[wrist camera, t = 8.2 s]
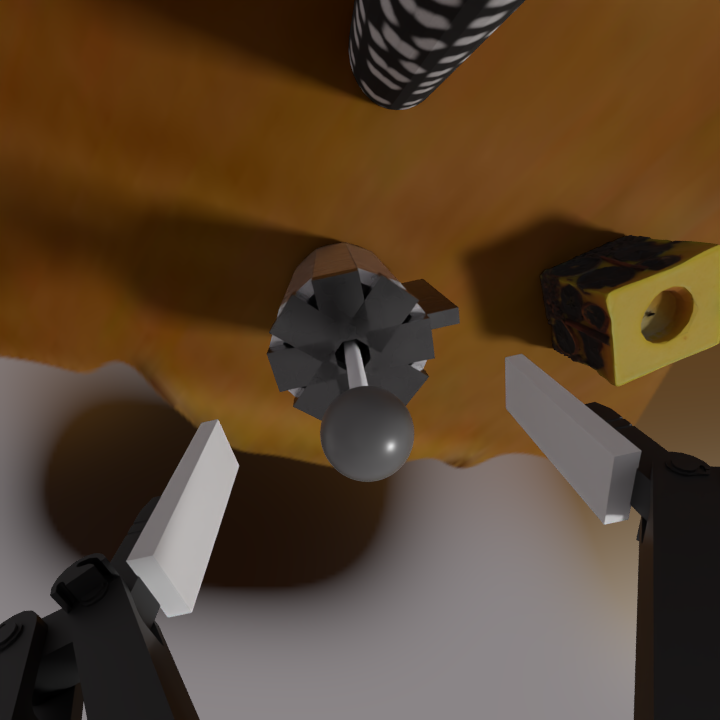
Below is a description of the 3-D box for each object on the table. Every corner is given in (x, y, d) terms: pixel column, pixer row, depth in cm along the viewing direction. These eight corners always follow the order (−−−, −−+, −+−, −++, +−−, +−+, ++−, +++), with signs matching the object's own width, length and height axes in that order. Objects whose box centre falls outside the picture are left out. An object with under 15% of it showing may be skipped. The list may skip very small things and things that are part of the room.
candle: (551, 350, 42) (613, 391, 33) (535, 272, 38) (601, 294, 29) (635, 315, 42) (722, 348, 32) (628, 231, 37) (725, 242, 28)
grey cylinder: (278, 255, 35) (246, 294, 20) (409, 226, 35) (470, 246, 21) (305, 350, 39) (295, 438, 25) (422, 324, 39) (479, 397, 25)
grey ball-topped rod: (295, 269, 34) (241, 401, 12) (372, 252, 34) (463, 352, 12) (314, 341, 37) (301, 551, 15) (385, 326, 37) (476, 513, 15)
